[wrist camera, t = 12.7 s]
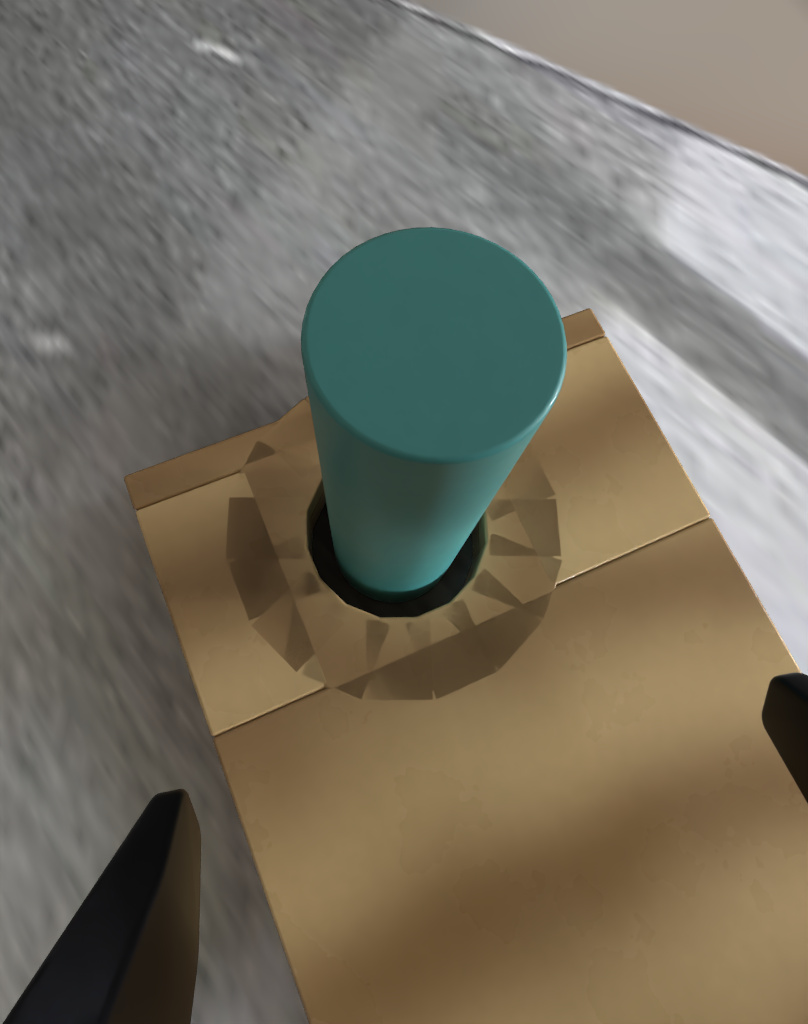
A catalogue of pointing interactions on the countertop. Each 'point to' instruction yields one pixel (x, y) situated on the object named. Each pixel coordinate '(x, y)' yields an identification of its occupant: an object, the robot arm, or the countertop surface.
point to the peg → (423, 396)
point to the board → (501, 735)
